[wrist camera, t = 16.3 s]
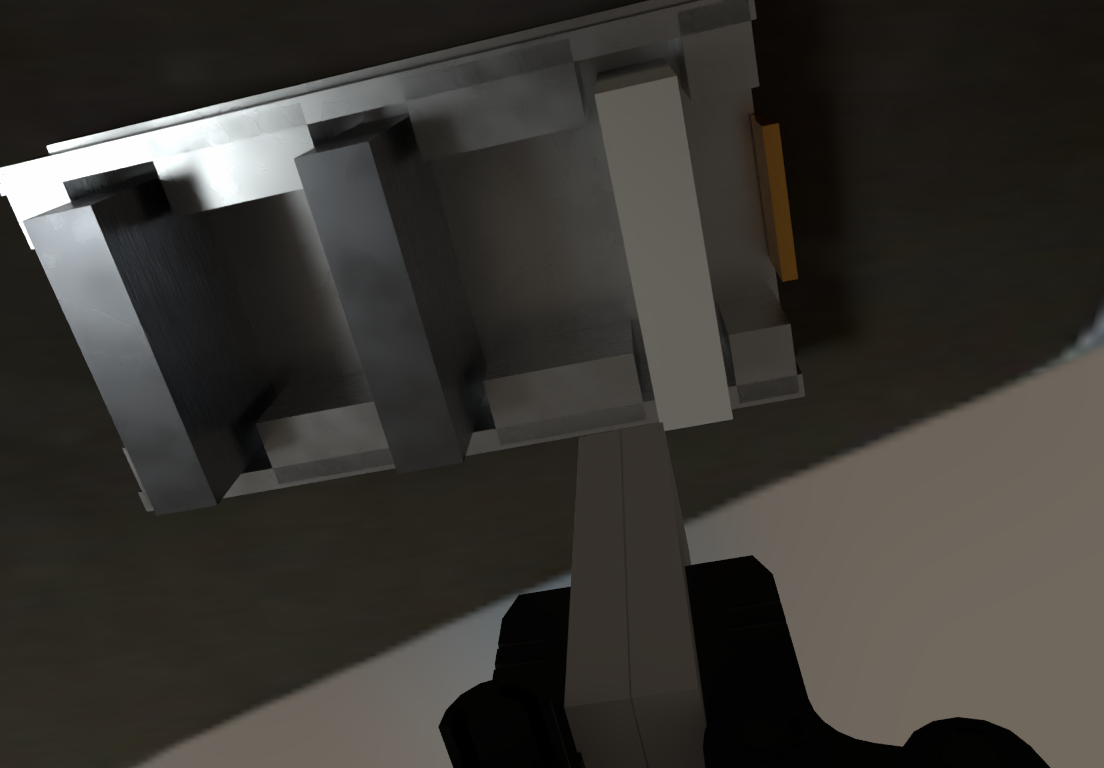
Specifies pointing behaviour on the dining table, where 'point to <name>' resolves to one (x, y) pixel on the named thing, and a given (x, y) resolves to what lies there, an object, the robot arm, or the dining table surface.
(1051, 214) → the dining table surface
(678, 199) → the panel
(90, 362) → the rack
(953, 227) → the dining table surface
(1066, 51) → the dining table surface
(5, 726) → the dining table surface
